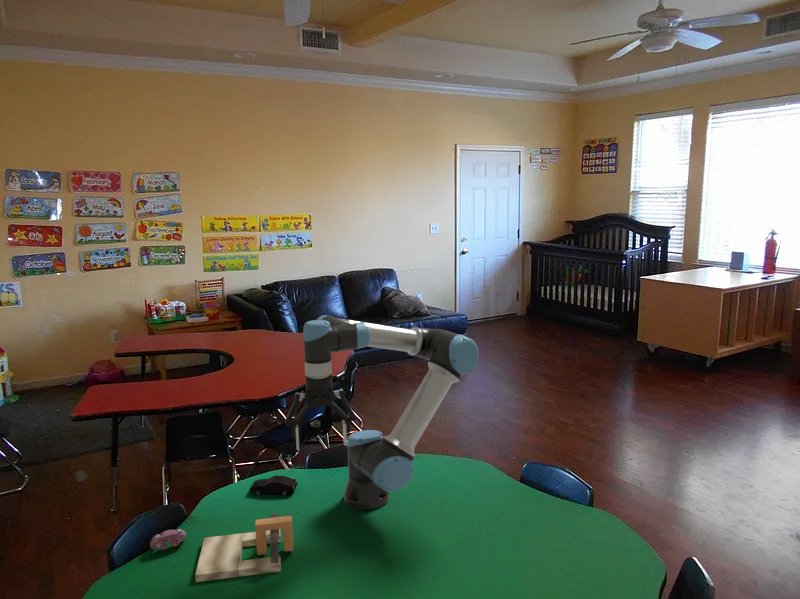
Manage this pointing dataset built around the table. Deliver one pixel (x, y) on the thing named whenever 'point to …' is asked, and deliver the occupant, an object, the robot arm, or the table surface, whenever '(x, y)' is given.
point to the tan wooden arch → (274, 524)
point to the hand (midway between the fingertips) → (321, 445)
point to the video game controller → (168, 539)
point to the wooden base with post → (236, 556)
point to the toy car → (274, 485)
